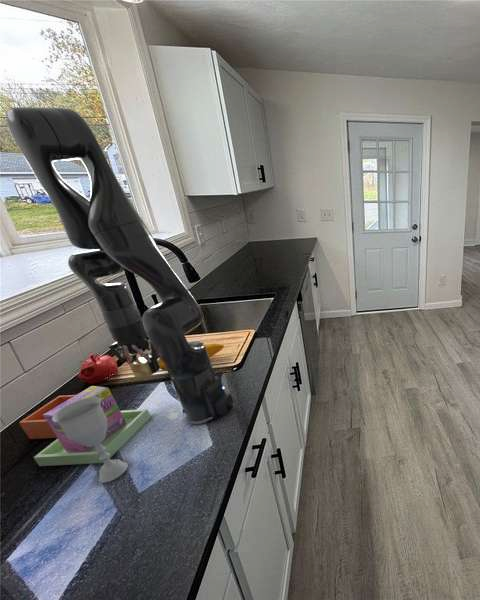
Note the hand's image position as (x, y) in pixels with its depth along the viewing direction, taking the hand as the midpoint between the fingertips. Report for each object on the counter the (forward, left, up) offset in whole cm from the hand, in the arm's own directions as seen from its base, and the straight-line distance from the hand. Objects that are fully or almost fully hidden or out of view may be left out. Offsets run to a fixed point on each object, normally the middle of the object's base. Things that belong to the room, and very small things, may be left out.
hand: (147, 371), depth 93 cm
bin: (+16, +12, -8) cm, 21 cm away
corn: (-2, -16, -8) cm, 18 cm away
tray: (+2, +18, -8) cm, 20 cm away
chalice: (-10, +28, -8) cm, 31 cm away
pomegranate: (+25, -10, -8) cm, 28 cm away
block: (0, 0, 0) cm, 0 cm away
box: (+2, +18, -7) cm, 20 cm away
